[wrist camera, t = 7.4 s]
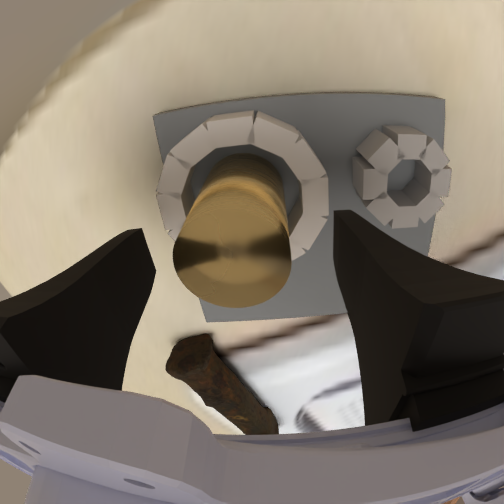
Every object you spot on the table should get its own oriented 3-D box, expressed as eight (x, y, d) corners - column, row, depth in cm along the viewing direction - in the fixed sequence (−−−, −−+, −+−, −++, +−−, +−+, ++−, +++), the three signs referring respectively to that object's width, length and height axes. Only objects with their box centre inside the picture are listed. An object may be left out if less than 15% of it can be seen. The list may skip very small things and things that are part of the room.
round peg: (276, 146, 14) (282, 200, 9) (288, 218, 17) (297, 301, 11) (197, 161, 15) (156, 221, 10) (216, 229, 17) (192, 312, 12)
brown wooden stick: (170, 336, 24) (156, 382, 21) (212, 327, 23) (203, 376, 20) (255, 427, 34) (253, 460, 30) (286, 423, 33) (286, 456, 29)
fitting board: (436, 97, 13) (465, 105, 10) (410, 295, 21) (424, 324, 18) (159, 112, 14) (137, 123, 12) (208, 312, 22) (202, 343, 20)
